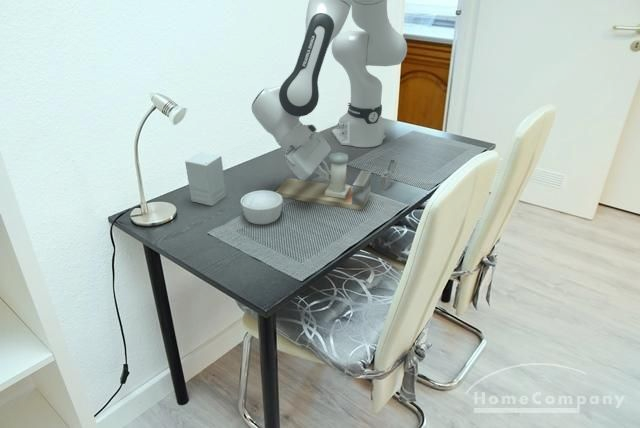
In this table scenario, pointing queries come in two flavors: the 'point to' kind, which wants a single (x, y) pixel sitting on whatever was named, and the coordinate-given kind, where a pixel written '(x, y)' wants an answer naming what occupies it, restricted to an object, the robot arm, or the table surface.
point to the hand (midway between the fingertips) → (328, 177)
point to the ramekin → (262, 206)
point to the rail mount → (317, 190)
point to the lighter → (388, 175)
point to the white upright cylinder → (338, 176)
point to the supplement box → (206, 178)
